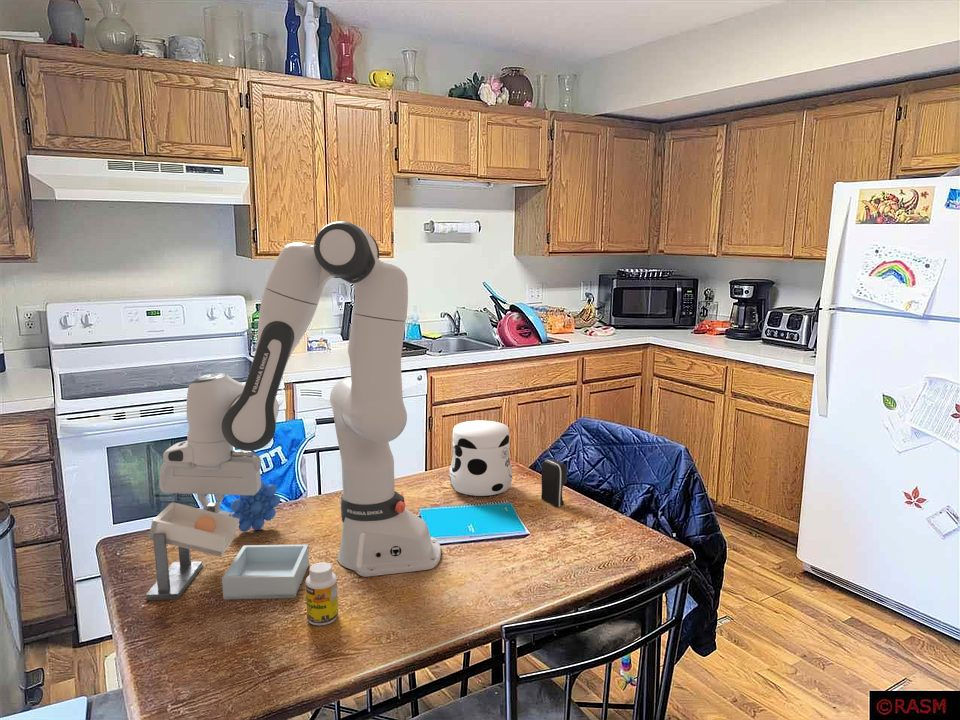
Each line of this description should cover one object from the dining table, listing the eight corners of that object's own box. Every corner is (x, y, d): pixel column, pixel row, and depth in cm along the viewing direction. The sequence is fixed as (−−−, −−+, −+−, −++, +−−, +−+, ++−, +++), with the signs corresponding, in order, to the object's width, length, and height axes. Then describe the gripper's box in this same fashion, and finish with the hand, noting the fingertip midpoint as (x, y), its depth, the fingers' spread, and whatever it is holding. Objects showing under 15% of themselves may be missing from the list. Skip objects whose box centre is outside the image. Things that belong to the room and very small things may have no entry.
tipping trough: (246, 520, 145) (250, 504, 144) (220, 556, 129) (225, 538, 128) (182, 504, 144) (186, 488, 143) (148, 539, 127) (152, 520, 127)
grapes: (277, 518, 165) (274, 472, 163) (284, 528, 159) (281, 480, 157) (227, 528, 159) (224, 480, 157) (233, 539, 153) (230, 490, 151)
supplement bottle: (301, 624, 120) (298, 571, 118) (317, 608, 125) (315, 557, 123) (328, 629, 118) (326, 576, 116) (343, 613, 124) (341, 562, 122)
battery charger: (568, 505, 173) (569, 463, 171) (557, 508, 171) (558, 466, 169) (551, 496, 179) (552, 456, 177) (540, 499, 177) (541, 458, 175)
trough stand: (202, 566, 141) (198, 508, 138) (178, 599, 128) (172, 536, 125) (173, 567, 140) (168, 509, 138) (146, 600, 128) (140, 537, 125)
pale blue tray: (309, 563, 142) (308, 544, 141) (294, 598, 129) (293, 576, 128) (244, 565, 141) (243, 545, 140) (223, 599, 128) (221, 578, 127)
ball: (194, 521, 134) (209, 534, 135) (186, 530, 130) (202, 543, 131) (208, 508, 134) (223, 522, 134) (201, 517, 130) (216, 530, 130)
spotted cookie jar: (524, 490, 184) (526, 427, 180) (481, 508, 171) (482, 441, 168) (479, 474, 195) (479, 415, 192) (436, 490, 183) (435, 428, 180)
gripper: (264, 447, 143) (265, 507, 145) (167, 444, 142) (169, 505, 144) (256, 456, 137) (257, 519, 139) (154, 453, 136) (157, 517, 138)
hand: (211, 512), depth 142 cm, fingers closed
